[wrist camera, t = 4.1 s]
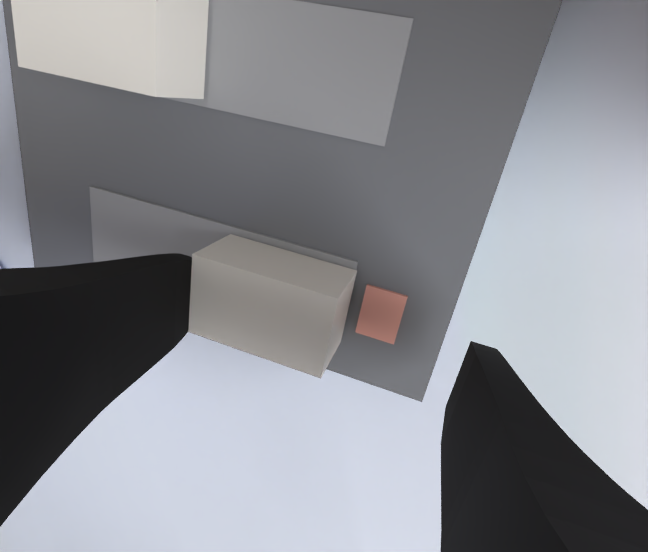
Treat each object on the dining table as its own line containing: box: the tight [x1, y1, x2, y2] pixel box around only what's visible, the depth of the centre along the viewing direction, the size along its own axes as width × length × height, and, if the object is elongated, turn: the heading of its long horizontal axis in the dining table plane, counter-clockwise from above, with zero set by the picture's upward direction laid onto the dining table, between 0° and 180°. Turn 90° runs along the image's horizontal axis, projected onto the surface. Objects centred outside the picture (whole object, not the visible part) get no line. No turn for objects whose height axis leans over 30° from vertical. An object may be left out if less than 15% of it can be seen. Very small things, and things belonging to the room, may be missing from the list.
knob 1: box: [11, 0, 209, 99], centre depth 10 cm, size 4×2×2 cm, turn 79°
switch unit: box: [3, 0, 562, 402], centre depth 11 cm, size 15×17×1 cm
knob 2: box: [188, 234, 357, 378], centre depth 12 cm, size 4×2×2 cm, turn 79°
